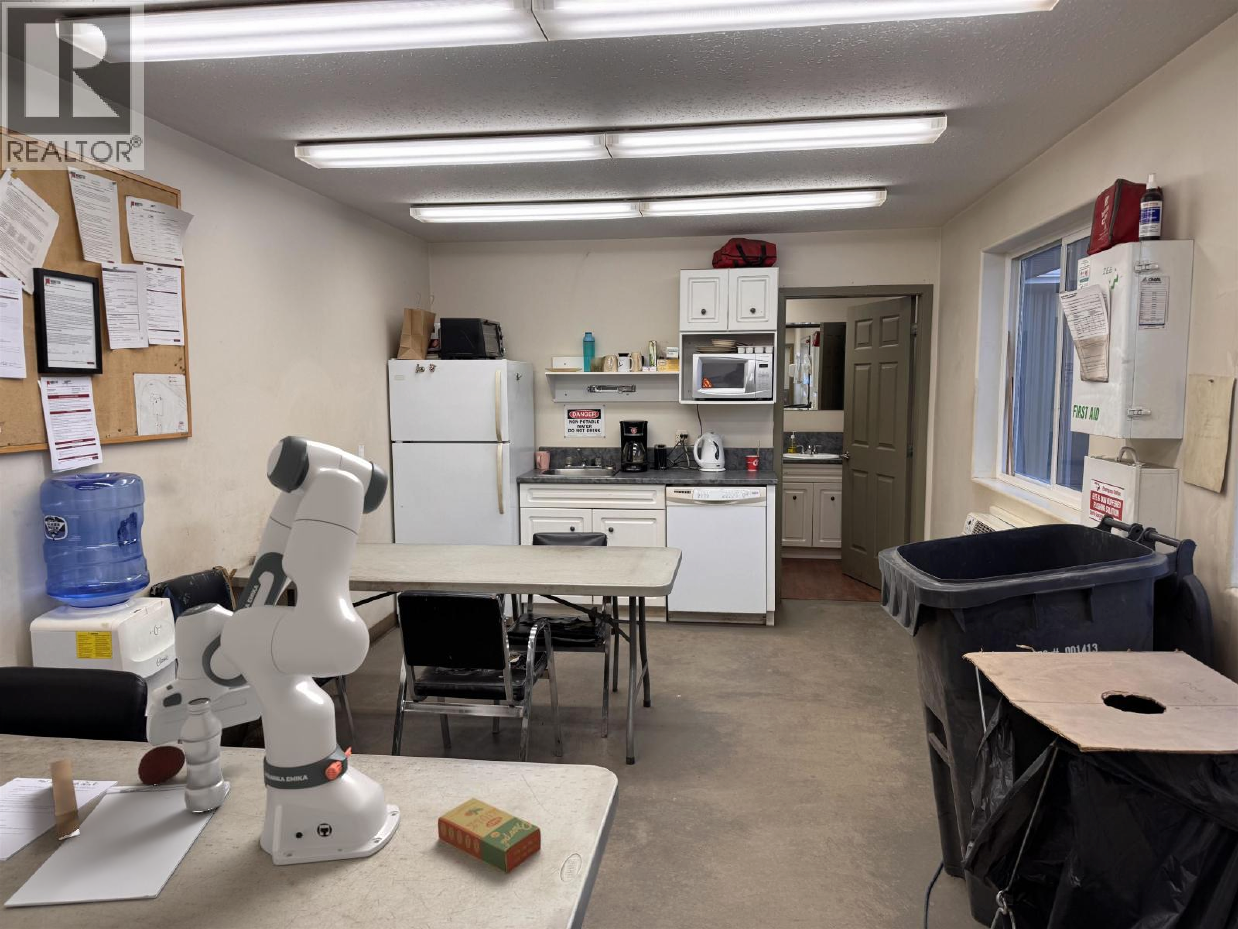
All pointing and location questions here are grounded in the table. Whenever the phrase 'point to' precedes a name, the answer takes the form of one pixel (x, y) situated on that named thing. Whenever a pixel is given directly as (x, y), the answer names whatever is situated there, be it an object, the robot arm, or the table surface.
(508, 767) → the table surface
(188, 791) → the plastic bottle
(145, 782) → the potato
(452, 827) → the carton
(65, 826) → the board
